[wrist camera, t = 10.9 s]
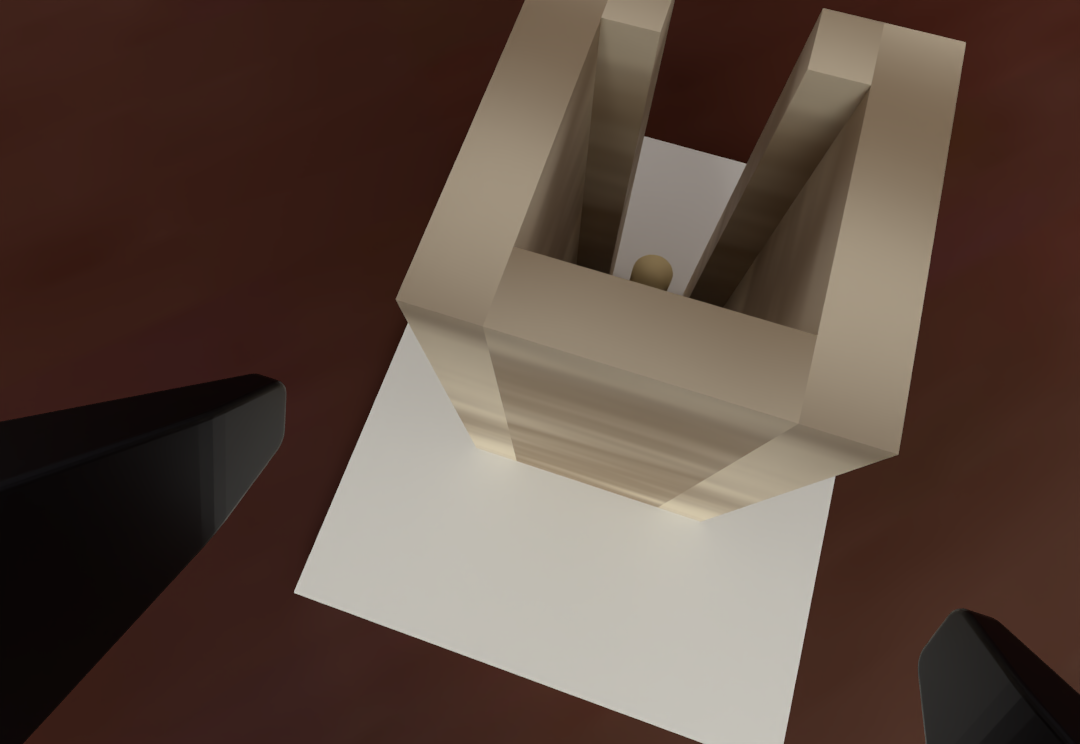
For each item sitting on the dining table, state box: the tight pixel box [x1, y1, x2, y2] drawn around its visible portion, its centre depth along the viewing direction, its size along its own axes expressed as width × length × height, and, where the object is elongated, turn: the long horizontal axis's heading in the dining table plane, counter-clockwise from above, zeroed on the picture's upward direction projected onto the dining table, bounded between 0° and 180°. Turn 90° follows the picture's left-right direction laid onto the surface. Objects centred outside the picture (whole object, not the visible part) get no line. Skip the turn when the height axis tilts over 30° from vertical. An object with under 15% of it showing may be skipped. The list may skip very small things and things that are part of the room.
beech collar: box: [396, 0, 966, 522], centre depth 15 cm, size 7×7×11 cm
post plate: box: [294, 136, 835, 744], centre depth 19 cm, size 18×14×5 cm
